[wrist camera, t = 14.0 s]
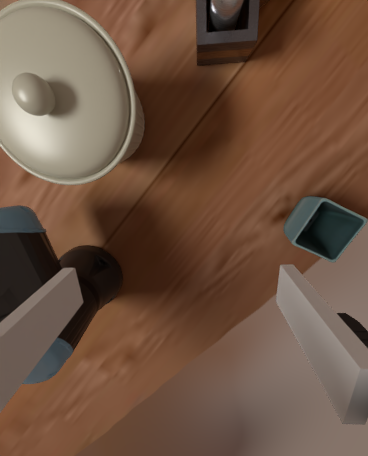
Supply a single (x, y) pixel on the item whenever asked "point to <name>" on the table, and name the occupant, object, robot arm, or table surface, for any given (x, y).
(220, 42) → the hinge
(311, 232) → the flower pot
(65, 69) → the canister
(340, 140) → the table surface
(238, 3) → the hinge pin
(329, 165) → the table surface
